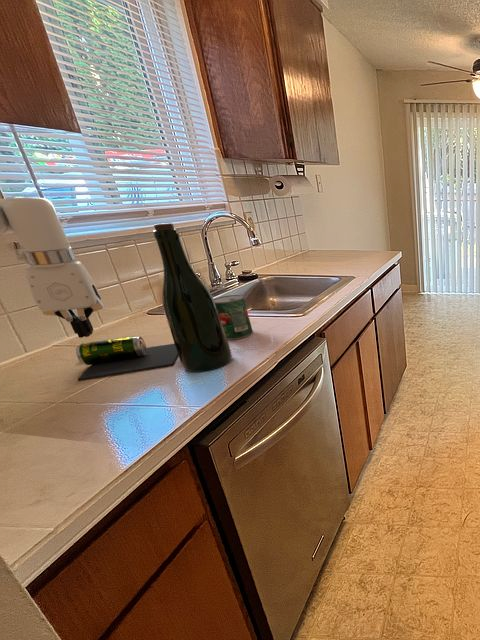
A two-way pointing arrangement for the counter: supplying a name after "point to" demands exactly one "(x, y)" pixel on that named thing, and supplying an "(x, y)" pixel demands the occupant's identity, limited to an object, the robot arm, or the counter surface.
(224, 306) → the canned tomato
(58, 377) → the counter surface
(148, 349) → the rubber mat
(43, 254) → the robot arm
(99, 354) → the beer can
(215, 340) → the green wine bottle
